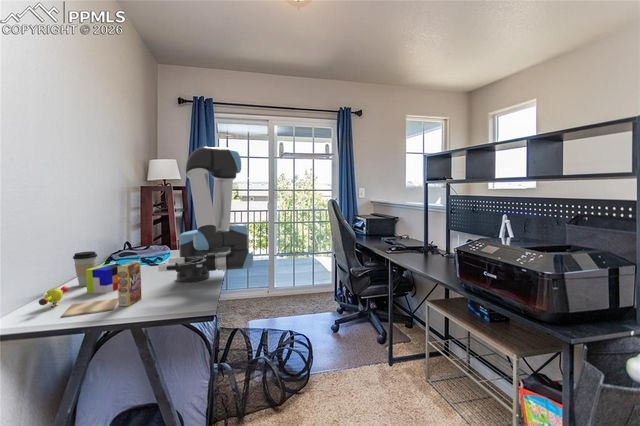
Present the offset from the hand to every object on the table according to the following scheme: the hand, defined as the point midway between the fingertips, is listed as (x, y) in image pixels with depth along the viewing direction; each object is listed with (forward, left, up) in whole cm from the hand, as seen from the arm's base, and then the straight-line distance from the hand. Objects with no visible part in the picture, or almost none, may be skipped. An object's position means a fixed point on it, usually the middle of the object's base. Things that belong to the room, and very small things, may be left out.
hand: (163, 264), depth 136 cm
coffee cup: (+34, -33, -12) cm, 49 cm away
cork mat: (+24, +7, -12) cm, 28 cm away
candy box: (+12, +7, -12) cm, 19 cm away
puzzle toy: (+24, -19, -12) cm, 33 cm away
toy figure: (+38, -2, -12) cm, 40 cm away
